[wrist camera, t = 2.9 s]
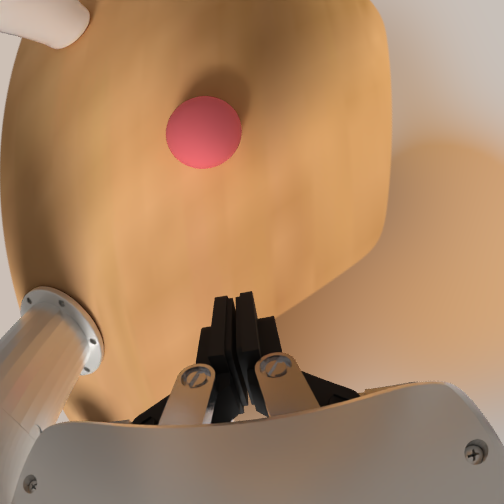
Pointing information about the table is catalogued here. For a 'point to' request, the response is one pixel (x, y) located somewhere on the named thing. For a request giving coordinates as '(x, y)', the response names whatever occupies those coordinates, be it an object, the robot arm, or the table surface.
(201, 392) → the robot arm
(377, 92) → the table surface
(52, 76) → the table surface
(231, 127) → the ball
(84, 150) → the table surface
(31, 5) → the drinking glass
